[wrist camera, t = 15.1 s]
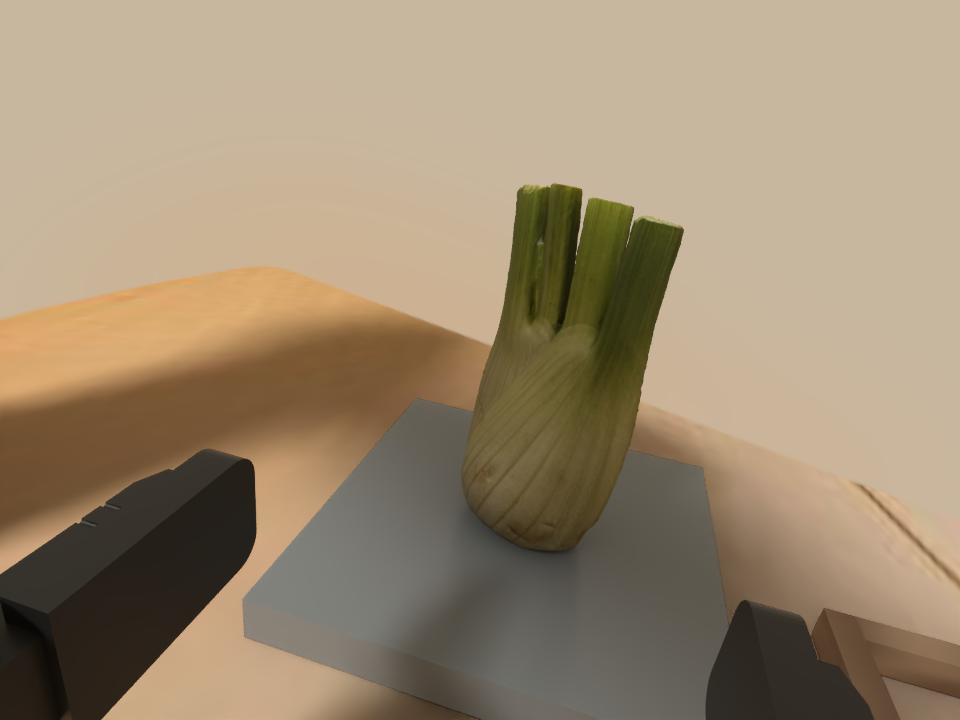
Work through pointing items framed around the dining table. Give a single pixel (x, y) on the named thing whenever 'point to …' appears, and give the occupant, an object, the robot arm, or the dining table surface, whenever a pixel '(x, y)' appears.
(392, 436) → the slate board
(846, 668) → the walnut collar
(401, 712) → the dining table surface
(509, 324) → the fennel bulb
